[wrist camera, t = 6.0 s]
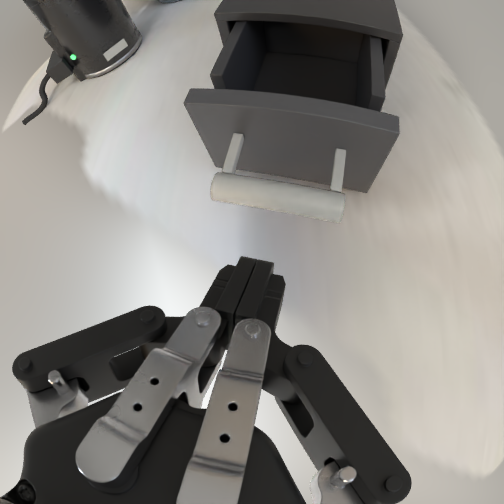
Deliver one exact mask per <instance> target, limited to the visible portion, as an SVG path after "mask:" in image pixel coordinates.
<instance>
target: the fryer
mask: <svg viewBox="0 0 504 504" xmlns="http://www.w3.org/2000/svg"><path fill="white" fill-rule="evenodd" d="M214 15H215V18H216V21H217V25H218V28H219V32H220V36H221V39H222V43H223V46H224V44H225V42H226V41H227V39H228V37H229V35H230V33H231V31H232V29H233V27H234V25H235V23H236V21H276V22H290V23H301V24H310V25H318V26H325V27H332V28H338V29H343V30H349V31H354V32H359V33H363V34H368V35H372V36H376V37H381V44H382V54H383V66H384V81H385V89H386V86H387V83H388V80H389V77H390V74H391V71H392V68H393V65H394V62H395V59H396V56H397V53H398V50H399V46H400V43H401V40H402V37H403V33H402V29H401V25H400V20H399V16H398V13H397V9H396V5H395V2H394V0H223V1H222V2H221V4H220V5H219V7H218V8H217V10H216V11H215V13H214Z"/></svg>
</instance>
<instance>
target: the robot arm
mask: <svg viewBox="0 0 504 504" xmlns="http://www.w3.org/2000/svg"><path fill="white" fill-rule="evenodd" d="M23 1H24V3H25V4H26V5H27V6H28V8H29V9H30V10H31V11H32V12H33V14H34V15H35V16H36V18H37V19H38V20H39V21H40V23H41V24H42V25H43V26H44V28H45V29H46V32H45V34H44V39H45V40H46V41H47V42H48V44H49V45H50V46H51V47H52V48H53V50H54V51H53V52H52V54H51V57H50V60H49V64H48V67H47V70H46V72H47V74H46V76H45V77H44V79H43V80H42V82H41V85H40V89H39V93H40V96H41V98H42V104H41V105H40V107H39V108H38V109H37V110H36V111H35V112H33V113H32V114H31V115H29V116H28V117H26V118H25V119H24V120H23V121H22V122H23V124H24V125H26V124H27V123H28V122H29V121H30V120H32V119H33V118H35V117H36V116H38V115H39V114H40V113H41V112H42V111H43V110H44V108H45V107H46V105H47V102H48V98H47V95H46V93H45V86H46V84H47V82H48V80H49V79H50V77H51V78H52V79H53V80H54V81H55V82H56V83H59V82H60V81H62V80H63V79H65V78H67V77H68V76H70V75H71V74H73V73H74V74H75V76H76V77H77V78H78V79H79V80H80V81H82V80H84V79H86V78H94V77H98V76H101V75H103V74H105V73H107V72H109V71H111V70H113V69H115V68H116V67H118V66H119V65H121V64H122V63H123V62H125V61H126V60H127V59H128V58H129V57H130V56H131V55H132V54H133V53H134V52H135V51H136V50H137V48H138V47H139V45H140V43H141V41H142V36H141V34H140V32H139V31H138V30H137V28H136V26H135V24H134V23H133V21H132V19H131V17H130V15H129V13H128V12H127V10H126V8H125V6H124V4H123V3H122V1H121V0H23ZM273 269H274V263H273V262H268V261H263V260H257V259H253V258H248V257H243V256H241V257H240V259H239V261H238V263H237V265H236V266H232V265H227V266H225V267H224V268H222V269H221V270H220V271H219V273H218V275H217V277H216V279H215V280H214V282H213V284H212V286H211V287H210V289H209V291H208V292H207V294H206V296H205V298H204V299H203V301H202V303H201V305H200V307H198V308H194V309H192V310H191V311H189V312H188V313H187V315H186V316H183V317H165V314H164V312H163V311H162V310H161V309H160V308H158V307H156V306H144V307H141V308H138V309H136V310H133V311H131V312H129V313H126V314H123V315H120V316H118V317H115V318H113V319H110V320H107V321H105V322H102V323H100V324H97V325H95V326H92V327H89V328H87V329H84V330H81V331H79V332H76V333H74V334H71V335H68V336H66V337H63V338H61V339H58V340H56V341H53V342H50V343H47V344H45V345H42V346H39V347H37V348H34V349H31V350H29V351H26V352H24V353H22V354H20V355H19V356H18V357H17V358H16V359H15V361H14V363H13V367H12V370H13V374H14V376H15V377H16V378H17V379H18V381H19V382H20V383H21V384H22V385H23V387H24V389H25V390H26V391H27V393H28V398H29V403H30V407H31V411H32V415H33V419H34V423H35V427H36V429H34V431H32V432H31V434H30V435H29V436H28V438H27V440H26V443H25V447H24V462H23V470H22V474H21V478H20V480H19V482H18V483H17V485H16V486H15V487H14V488H13V489H11V490H10V491H9V492H8V493H6V494H5V495H3V496H2V497H0V504H306V502H305V500H304V499H303V497H302V495H301V493H300V491H299V490H298V488H297V486H296V484H295V482H294V480H293V478H292V477H291V475H290V473H289V471H288V469H287V467H286V465H285V463H284V461H283V459H282V458H281V455H280V454H279V452H278V450H277V448H276V446H275V445H274V443H273V442H272V440H271V439H270V438H269V437H268V436H267V435H266V434H265V433H264V432H263V431H261V430H260V429H258V428H257V427H255V426H254V424H255V419H256V414H257V409H258V404H259V399H260V393H261V389H263V390H265V391H267V392H268V393H270V394H272V395H273V396H275V399H276V402H277V404H278V405H279V407H280V409H281V410H282V412H283V414H284V416H285V417H286V419H287V421H288V422H289V424H290V426H291V427H292V429H293V431H294V433H295V434H296V436H297V438H298V439H299V441H300V443H301V444H302V446H303V447H304V449H305V451H306V452H307V454H308V455H309V457H310V459H311V460H312V462H313V464H314V465H315V467H316V469H317V470H318V472H317V473H316V474H315V475H314V476H313V478H312V479H311V482H310V491H311V494H312V496H313V504H396V503H398V502H400V501H402V500H403V499H404V498H405V497H406V496H407V495H408V493H409V491H410V489H411V477H410V474H409V473H408V471H407V470H406V469H405V467H404V466H403V465H402V463H401V462H400V461H399V459H398V458H397V457H396V455H395V454H394V452H393V451H392V450H391V448H390V447H389V446H388V444H387V443H386V442H385V440H384V439H383V437H382V436H381V435H380V433H379V432H378V431H377V429H376V428H375V427H374V425H373V424H372V423H371V421H370V420H369V418H368V417H367V416H366V414H365V413H364V412H363V410H362V409H361V408H360V406H359V405H358V403H357V402H356V401H355V399H354V398H353V397H352V395H351V394H350V393H349V391H348V390H347V389H346V387H345V386H344V384H343V383H342V382H341V380H340V379H339V377H338V376H337V375H336V373H335V372H334V371H333V369H332V368H331V367H330V365H329V364H328V362H327V361H326V360H325V358H324V357H323V356H322V354H321V353H320V352H319V351H318V350H317V349H315V348H314V347H312V346H309V345H297V346H294V347H290V346H289V345H287V344H285V343H283V342H282V341H281V340H280V339H279V338H278V337H277V335H276V333H275V329H276V326H277V322H278V318H279V314H280V310H281V306H282V301H283V295H284V290H285V285H286V284H285V281H284V278H283V276H280V275H275V274H273ZM136 347H137V348H136ZM134 348H135V349H134ZM131 349H133V350H131ZM129 350H130V351H129ZM225 350H228V351H227V354H226V358H225V361H224V365H223V368H222V370H221V369H220V370H219V372H218V374H217V377H216V381H215V384H214V388H213V390H212V394H211V397H210V400H209V404H208V407H207V409H201V405H202V401H203V398H204V396H205V394H206V392H207V390H208V388H209V386H210V384H211V382H212V381H213V379H214V377H215V375H216V373H217V371H218V369H219V367H220V365H221V359H222V357H223V354H224V352H225ZM127 351H128V352H127ZM124 352H125V353H124ZM122 353H123V354H122ZM119 354H120V355H119ZM117 355H118V356H117ZM114 356H116V357H114ZM123 388H125V389H124V390H123V392H119V393H117V394H114V395H112V396H110V397H108V398H106V399H103V400H101V401H99V402H96V403H94V404H92V405H90V406H88V403H89V402H91V401H94V400H97V399H99V398H102V397H104V396H107V395H109V394H112V393H114V392H116V391H119V390H121V389H123Z"/></svg>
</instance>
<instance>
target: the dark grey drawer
mask: <svg viewBox="0 0 504 504" xmlns="http://www.w3.org/2000/svg"><path fill="white" fill-rule="evenodd" d="M210 77H211V80H212V82H213V85H214V88H215V89H190V91H189V93H188V95H187V97H186V99H185V101H184V105H185V107H186V109H187V111H188V113H189V115H190V117H191V119H192V121H193V123H194V125H195V127H196V129H197V131H198V133H199V135H200V137H201V139H202V141H203V143H204V145H205V147H206V149H207V150H208V152H209V154H210V156H211V158H212V160H213V162H214V164H215V166H216V167H221V168H223V170H222V173H220V172H218V173H216V174H215V175H214V177H213V180H212V184H211V198H212V200H214V201H220V202H226V203H232V204H238V205H244V206H250V207H256V208H261V209H267V210H273V211H278V212H284V213H289V214H294V215H300V216H305V217H310V218H315V219H320V220H325V221H330V222H335V223H340V222H341V220H342V216H343V212H344V206H345V194H344V193H341V191H342V188H346V189H351V190H355V191H360V192H364V193H367V191H368V190H369V188H370V186H371V185H372V183H373V181H374V179H375V178H376V176H377V174H378V172H379V170H380V169H381V167H382V165H383V163H384V161H385V160H386V158H387V156H388V154H389V152H390V151H391V149H392V147H393V145H394V143H395V141H396V139H397V138H398V136H399V134H400V131H399V117H398V116H394V115H391V114H387V113H383V112H380V111H381V108H382V105H383V103H384V100H385V81H384V66H383V54H382V44H381V37H376V36H372V35H368V34H363V33H359V32H354V31H349V30H343V29H338V28H332V27H325V26H318V25H310V24H301V23H290V22H276V21H236V23H235V25H234V27H233V29H232V31H231V33H230V35H229V37H228V39H227V41H226V42H225V44H224V46H223V48H222V51H221V53H220V55H219V57H218V59H217V61H216V63H215V65H214V67H213V69H212V71H211V74H210ZM235 170H243V171H250V172H257V173H264V174H270V175H277V176H283V177H289V178H294V179H300V180H305V181H311V182H316V183H321V184H327V185H331V186H330V191H329V190H324V189H319V188H314V187H308V186H303V185H297V184H292V183H286V182H280V181H274V180H268V179H262V178H255V177H248V176H242V175H235Z"/></svg>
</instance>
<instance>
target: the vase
mask: <svg viewBox="0 0 504 504" xmlns="http://www.w3.org/2000/svg"><path fill="white" fill-rule="evenodd" d="M158 1H159V2H163V3H170V2H176V1H180V0H158Z"/></svg>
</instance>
